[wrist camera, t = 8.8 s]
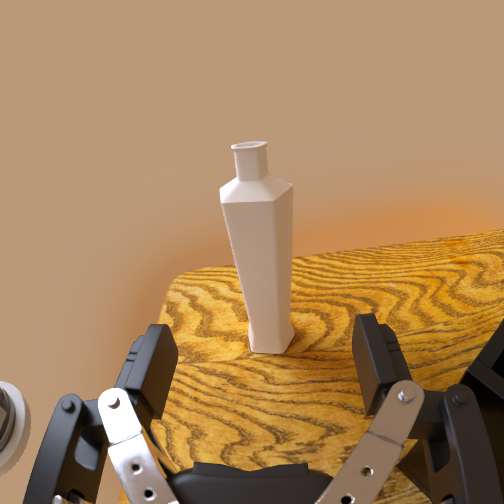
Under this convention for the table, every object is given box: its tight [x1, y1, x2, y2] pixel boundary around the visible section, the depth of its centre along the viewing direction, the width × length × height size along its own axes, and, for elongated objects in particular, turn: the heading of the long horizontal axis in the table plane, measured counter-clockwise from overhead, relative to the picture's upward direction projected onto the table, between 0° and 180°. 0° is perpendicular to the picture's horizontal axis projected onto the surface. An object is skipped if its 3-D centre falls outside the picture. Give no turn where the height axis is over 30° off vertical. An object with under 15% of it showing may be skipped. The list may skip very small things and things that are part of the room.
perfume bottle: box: [220, 141, 295, 354], centre depth 20 cm, size 5×4×15 cm
